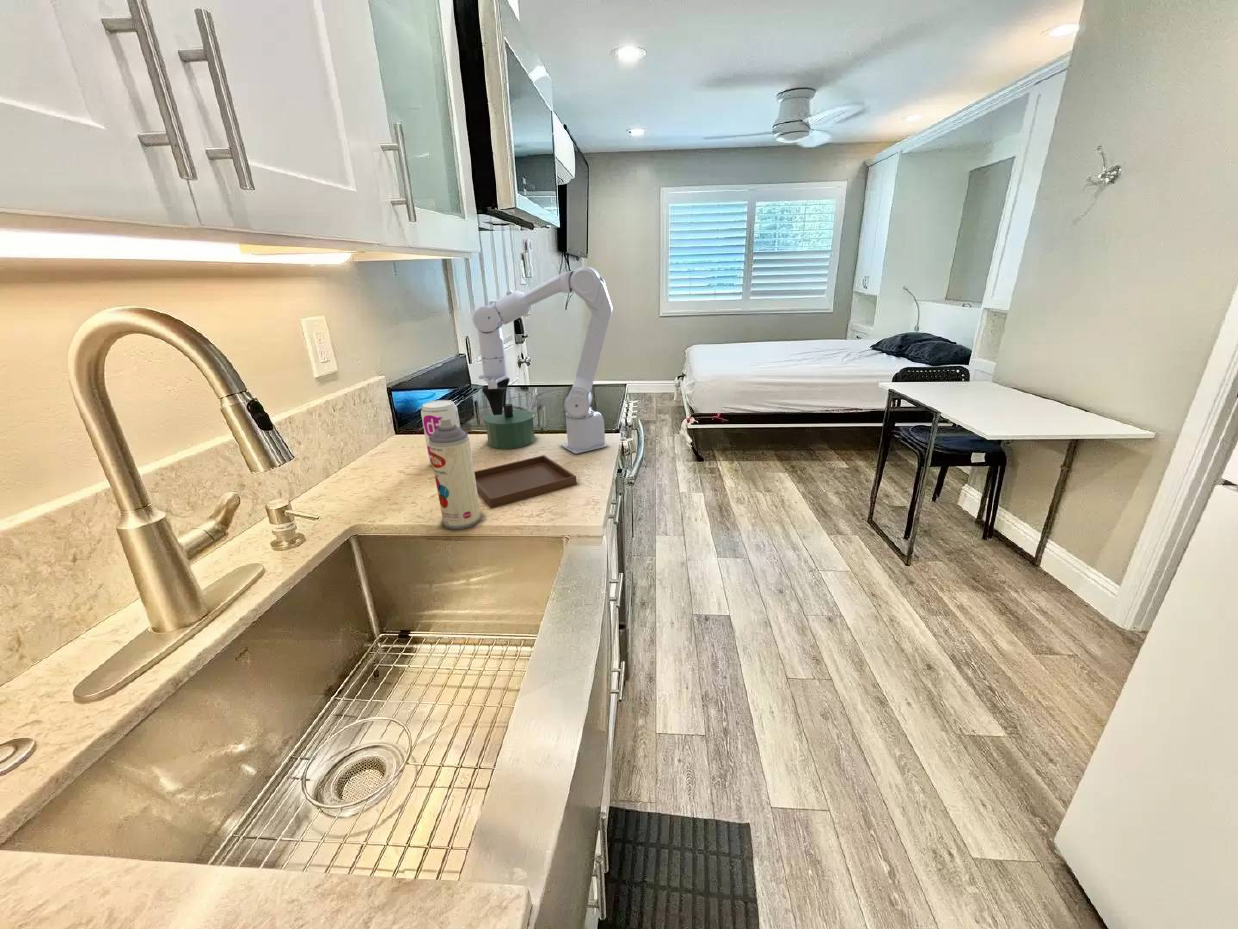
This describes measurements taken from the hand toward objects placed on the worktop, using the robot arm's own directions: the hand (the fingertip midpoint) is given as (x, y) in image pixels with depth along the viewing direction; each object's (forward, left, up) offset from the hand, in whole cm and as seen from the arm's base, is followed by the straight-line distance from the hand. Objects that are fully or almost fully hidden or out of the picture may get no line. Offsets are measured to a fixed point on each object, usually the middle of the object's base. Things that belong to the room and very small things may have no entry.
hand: (499, 410), depth 126 cm
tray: (+5, +24, -10) cm, 27 cm away
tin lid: (-4, -4, -4) cm, 7 cm away
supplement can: (+15, +2, -10) cm, 19 cm away
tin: (-4, -4, -10) cm, 12 cm away
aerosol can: (+21, +34, -10) cm, 41 cm away
